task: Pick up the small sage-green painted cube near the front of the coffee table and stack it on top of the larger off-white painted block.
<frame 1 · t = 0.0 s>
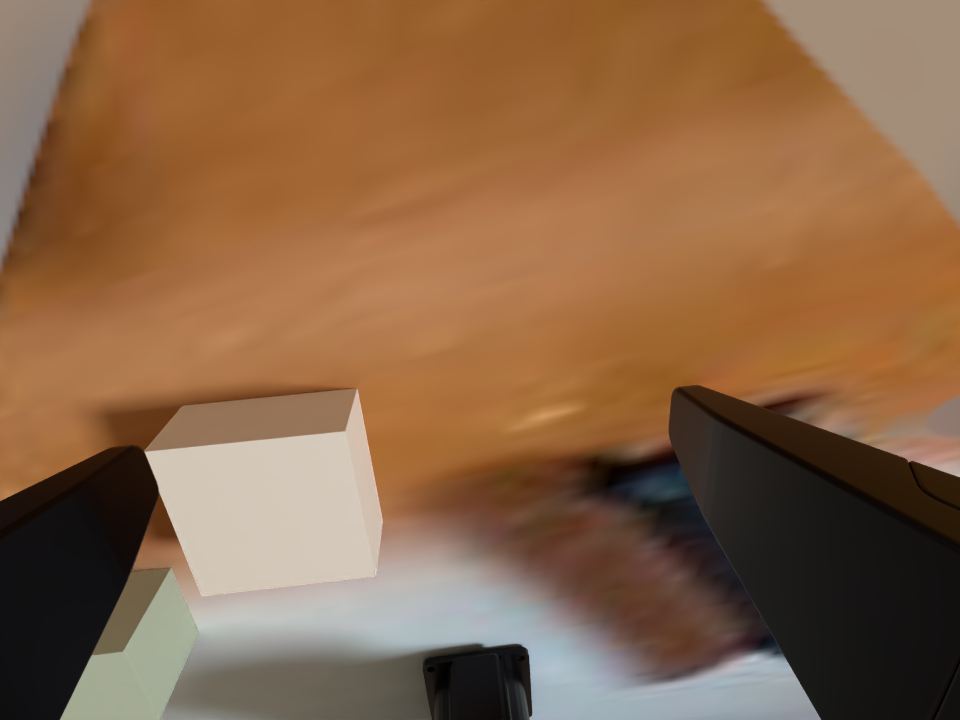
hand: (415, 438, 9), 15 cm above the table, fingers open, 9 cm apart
base block: (291, 464, 27), on the table
green cube: (140, 605, 30), on the table
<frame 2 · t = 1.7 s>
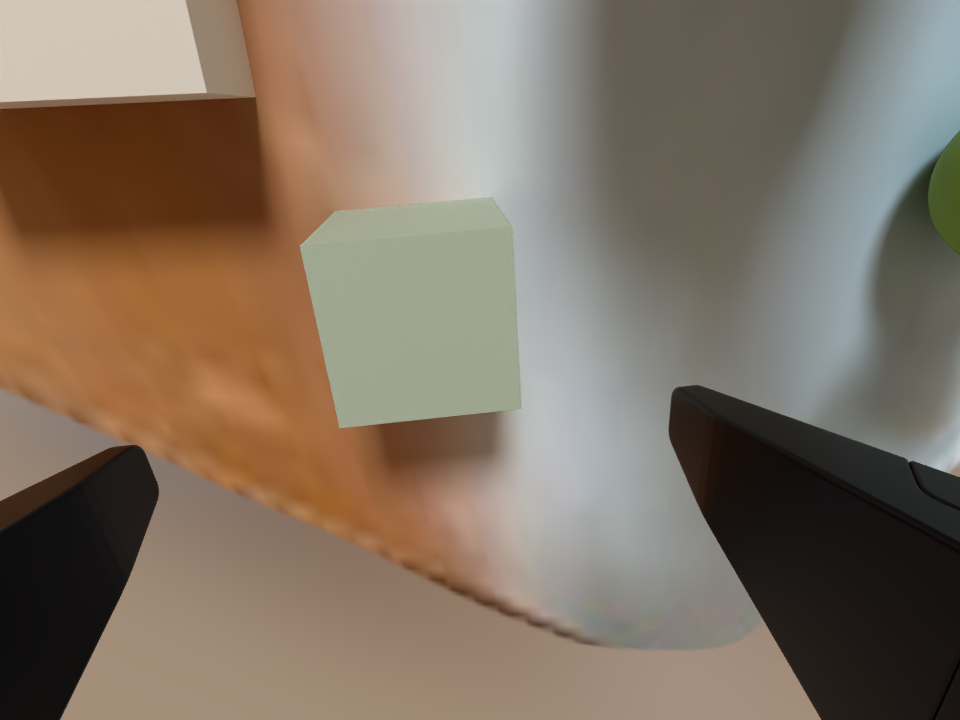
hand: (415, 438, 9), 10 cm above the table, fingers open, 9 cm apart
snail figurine: (946, 170, 18), on the table
green cube: (423, 279, 18), on the table
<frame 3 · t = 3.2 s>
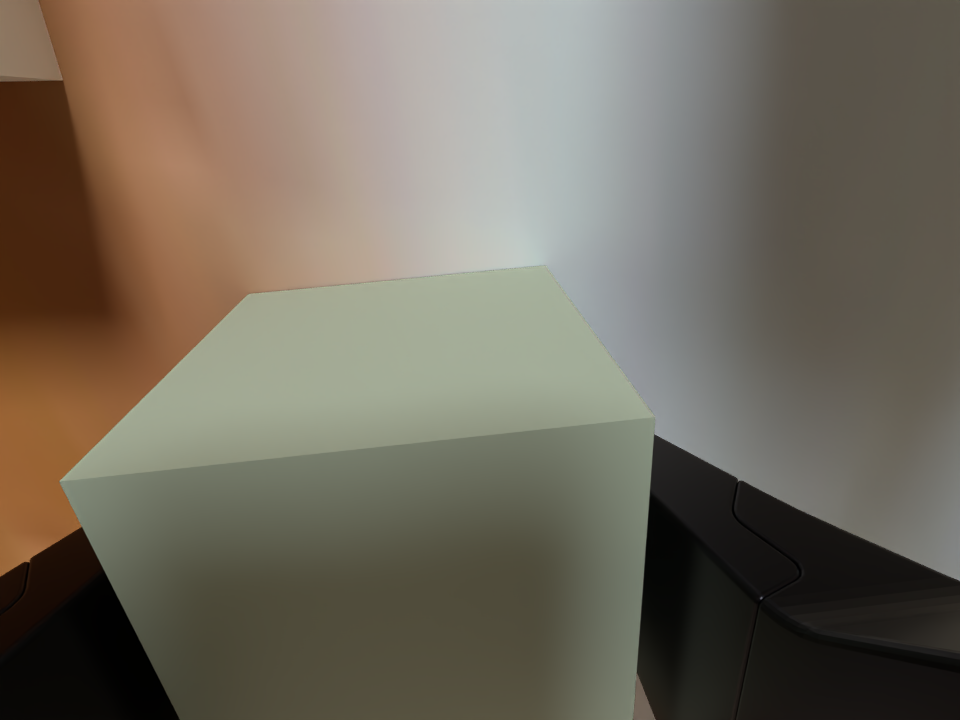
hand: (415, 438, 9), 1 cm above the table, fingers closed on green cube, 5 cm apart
green cube: (417, 407, 10), on the table, touching gripper
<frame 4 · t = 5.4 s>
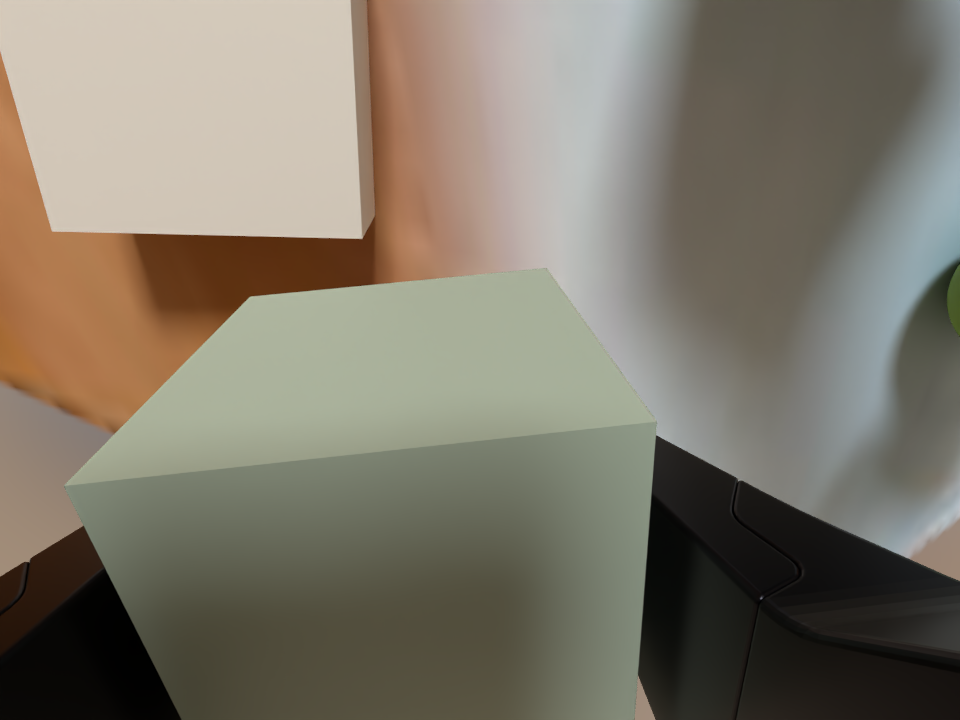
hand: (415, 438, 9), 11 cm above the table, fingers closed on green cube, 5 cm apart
base block: (238, 76, 16), on the table
green cube: (418, 410, 10), point 10 cm above the table, touching gripper
when the fingers open (6 cm above the table, at t = 7.5 s): green cube drops 2 cm, resting on base block.
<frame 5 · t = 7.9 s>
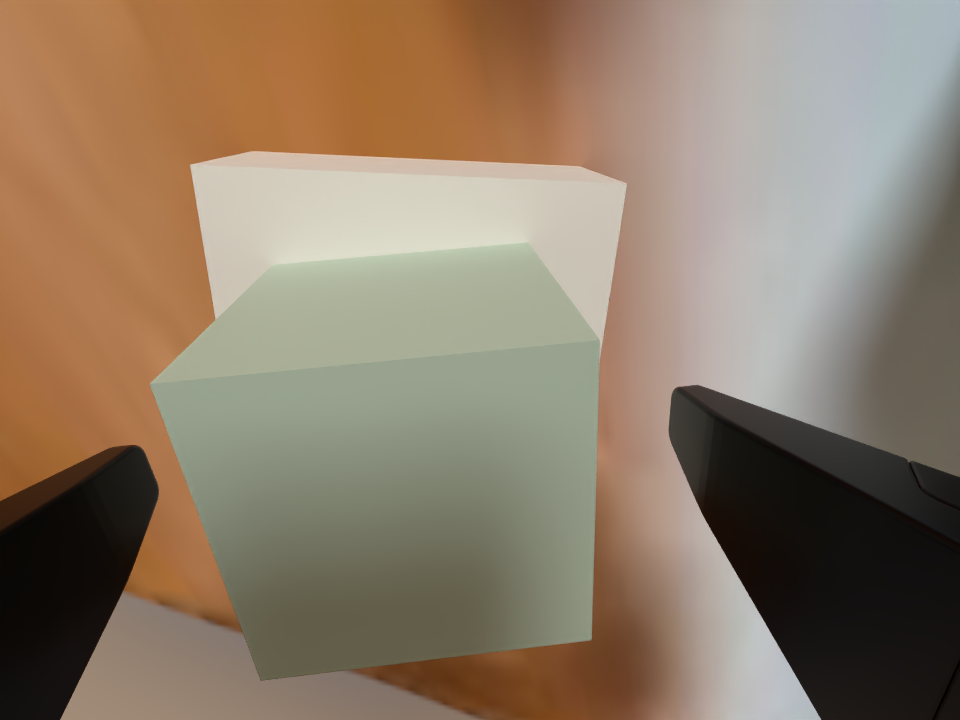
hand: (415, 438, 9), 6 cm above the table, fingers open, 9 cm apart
base block: (420, 308, 15), on the table, touching green cube
green cube: (416, 368, 12), point 4 cm above the table, touching base block
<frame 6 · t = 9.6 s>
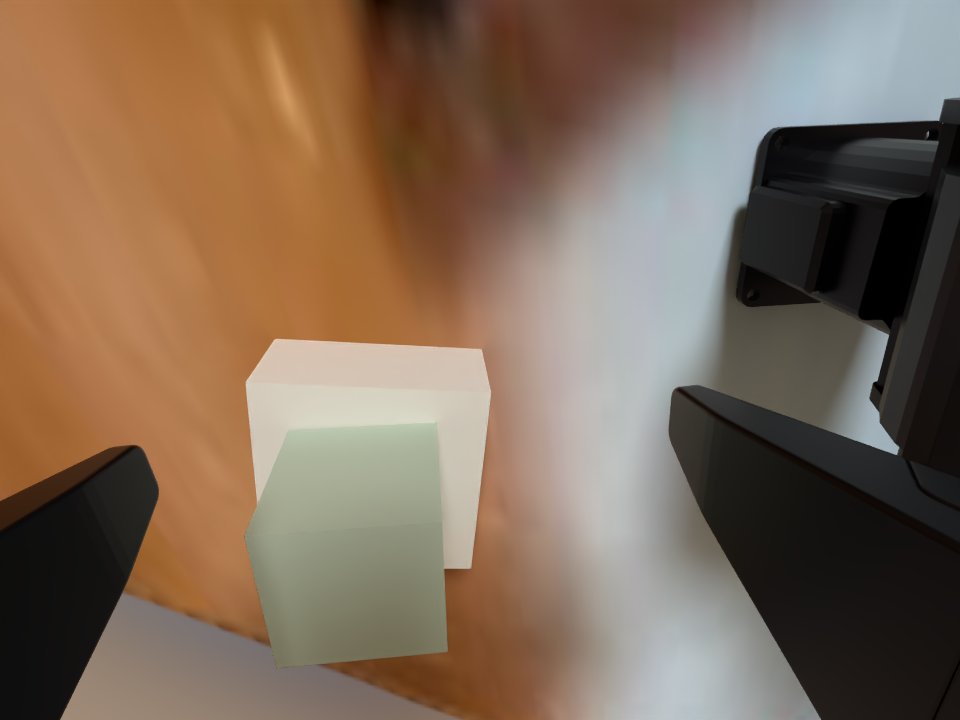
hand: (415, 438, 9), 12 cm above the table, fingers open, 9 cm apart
base block: (379, 426, 23), on the table, touching green cube
green cube: (369, 485, 19), point 4 cm above the table, touching base block
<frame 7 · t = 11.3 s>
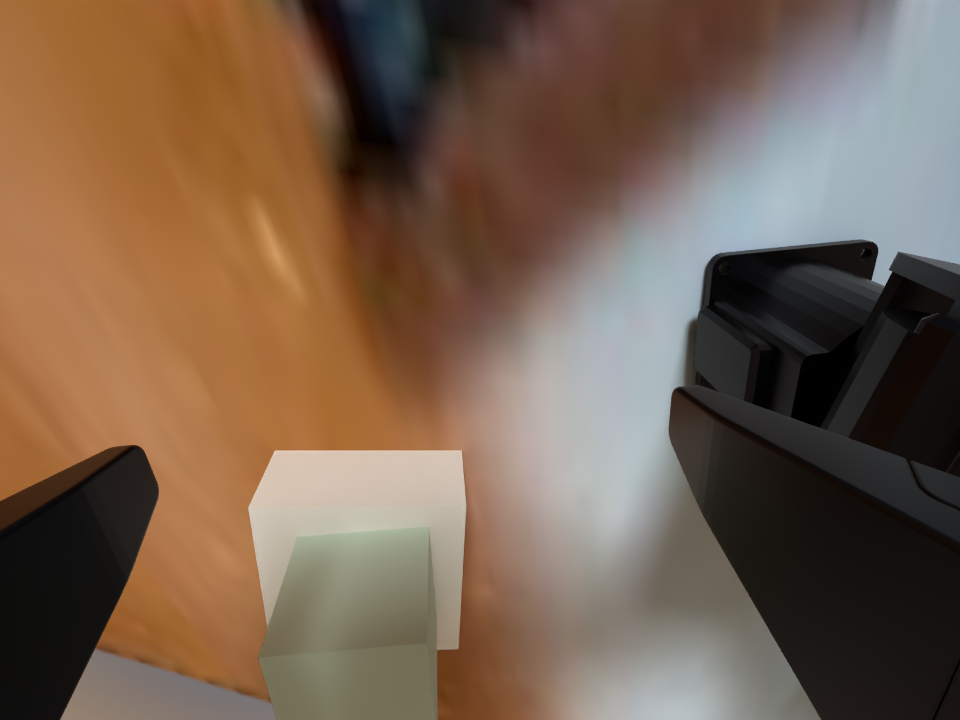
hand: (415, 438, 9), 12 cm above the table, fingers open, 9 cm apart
base block: (373, 517, 25), on the table, touching green cube
green cube: (370, 579, 22), point 4 cm above the table, touching base block
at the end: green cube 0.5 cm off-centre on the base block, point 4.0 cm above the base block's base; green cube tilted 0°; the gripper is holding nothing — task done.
